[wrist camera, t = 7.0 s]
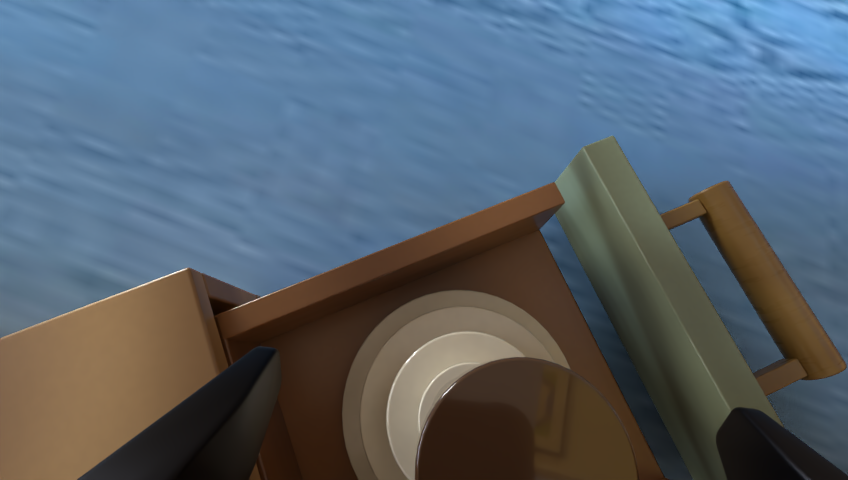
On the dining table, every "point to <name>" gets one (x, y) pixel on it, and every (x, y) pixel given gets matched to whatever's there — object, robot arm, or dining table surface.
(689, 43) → the dining table surface
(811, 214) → the dining table surface
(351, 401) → the cream and brown stand
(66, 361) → the cabinet
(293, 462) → the drawer
